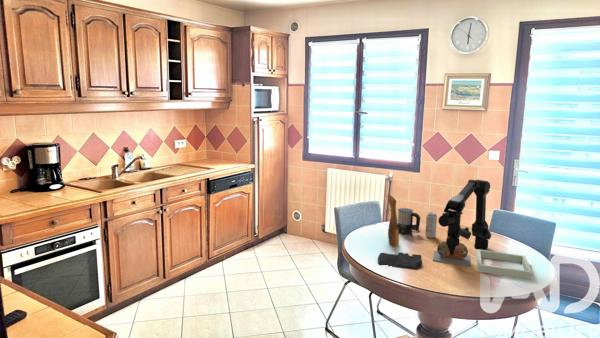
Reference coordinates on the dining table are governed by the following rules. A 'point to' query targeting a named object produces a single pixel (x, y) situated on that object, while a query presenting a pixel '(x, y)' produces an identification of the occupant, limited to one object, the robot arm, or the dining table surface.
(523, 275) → the grey square frame
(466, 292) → the dining table surface
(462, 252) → the tin
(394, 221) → the pancake mix bag
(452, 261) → the slate mat
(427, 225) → the energy drink can
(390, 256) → the dark slate chunk
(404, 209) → the milk frother
